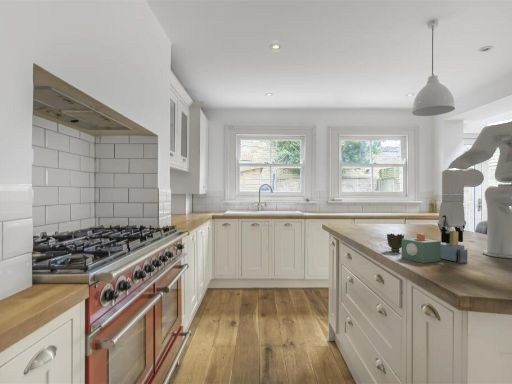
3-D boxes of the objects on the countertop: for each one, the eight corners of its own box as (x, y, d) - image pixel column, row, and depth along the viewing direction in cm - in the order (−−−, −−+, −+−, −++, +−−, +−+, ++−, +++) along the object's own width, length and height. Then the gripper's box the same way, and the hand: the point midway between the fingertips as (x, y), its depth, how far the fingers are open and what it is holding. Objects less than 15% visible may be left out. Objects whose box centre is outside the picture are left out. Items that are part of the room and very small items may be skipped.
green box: (418, 256, 130) (418, 237, 130) (440, 260, 120) (440, 241, 120) (400, 257, 125) (401, 238, 125) (422, 263, 116) (422, 242, 116)
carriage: (449, 257, 126) (449, 230, 126) (464, 260, 121) (464, 232, 121) (439, 258, 124) (440, 230, 124) (454, 261, 118) (454, 232, 118)
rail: (423, 253, 136) (423, 242, 136) (467, 262, 119) (467, 249, 119) (416, 253, 134) (416, 242, 134) (460, 263, 117) (460, 250, 117)
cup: (405, 251, 140) (405, 234, 140) (403, 253, 134) (403, 236, 134) (387, 249, 144) (388, 232, 144) (385, 251, 138) (385, 234, 138)
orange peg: (419, 251, 125) (420, 233, 125) (426, 252, 122) (426, 234, 122) (414, 251, 124) (415, 233, 124) (421, 253, 121) (421, 234, 121)
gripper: (456, 199, 129) (456, 239, 129) (429, 199, 122) (429, 242, 122) (475, 199, 122) (474, 242, 122) (447, 199, 115) (447, 245, 115)
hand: (452, 241), depth 122 cm, fingers open, 7 cm apart
